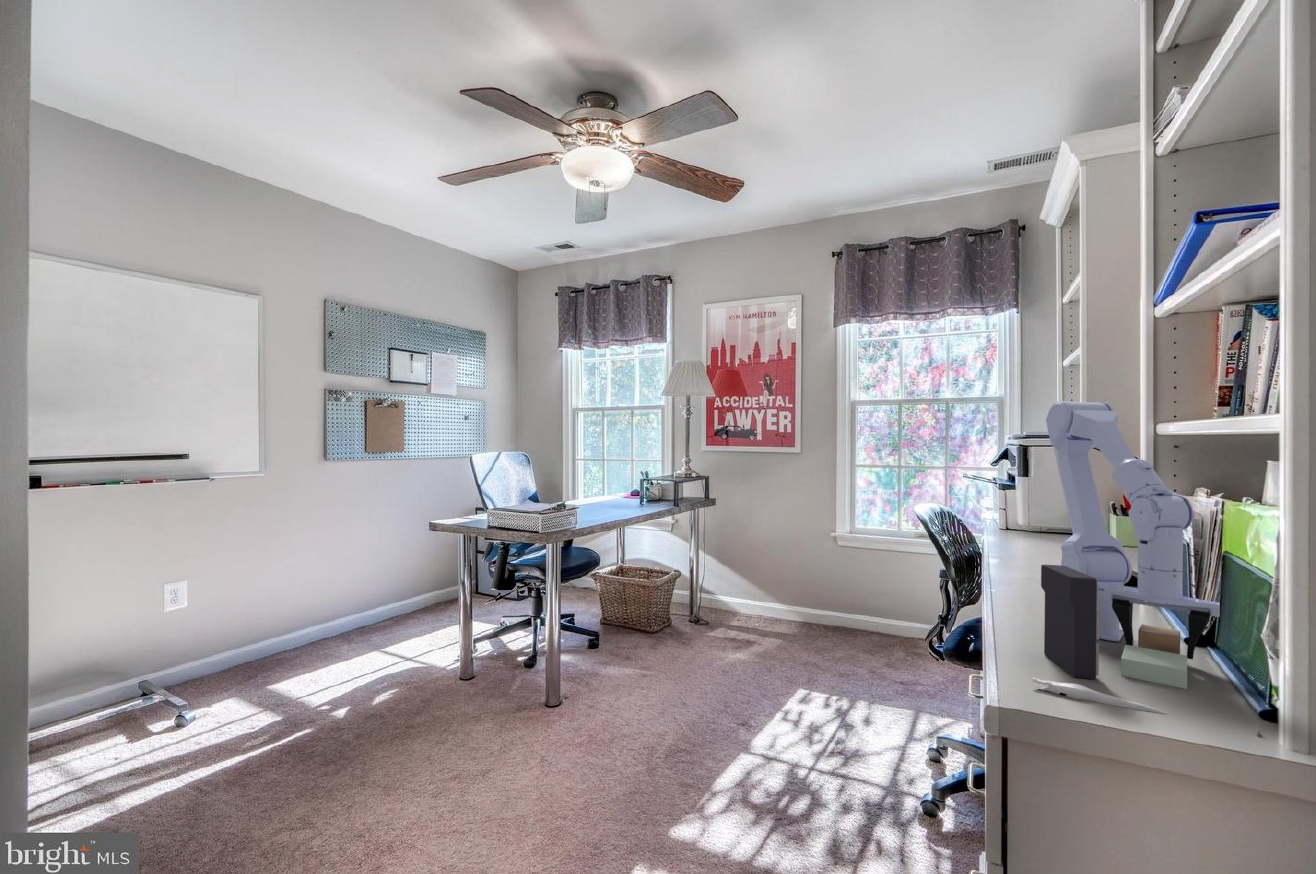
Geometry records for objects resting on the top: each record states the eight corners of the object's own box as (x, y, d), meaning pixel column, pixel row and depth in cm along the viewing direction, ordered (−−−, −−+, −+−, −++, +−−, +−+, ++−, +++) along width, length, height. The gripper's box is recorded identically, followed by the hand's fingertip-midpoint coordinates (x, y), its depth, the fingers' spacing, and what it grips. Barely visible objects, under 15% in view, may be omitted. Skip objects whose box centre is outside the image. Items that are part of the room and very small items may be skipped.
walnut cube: (1141, 654, 104) (1141, 624, 104) (1180, 661, 101) (1180, 630, 101) (1138, 661, 101) (1138, 630, 101) (1178, 669, 97) (1178, 637, 97)
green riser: (1125, 663, 100) (1125, 644, 100) (1186, 675, 96) (1186, 655, 96) (1121, 678, 94) (1121, 658, 94) (1187, 691, 89) (1187, 670, 89)
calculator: (1102, 681, 91) (1103, 579, 91) (1069, 678, 92) (1070, 577, 92) (1068, 656, 102) (1069, 565, 102) (1039, 654, 103) (1040, 563, 103)
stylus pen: (1031, 691, 87) (1032, 677, 87) (1031, 686, 89) (1032, 672, 89) (1168, 724, 79) (1169, 709, 79) (1165, 717, 81) (1166, 702, 81)
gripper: (1101, 564, 103) (1101, 646, 103) (1219, 578, 93) (1218, 669, 93) (1108, 559, 108) (1107, 637, 108) (1219, 572, 98) (1219, 658, 98)
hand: (1159, 651), depth 101 cm, fingers open, 7 cm apart
